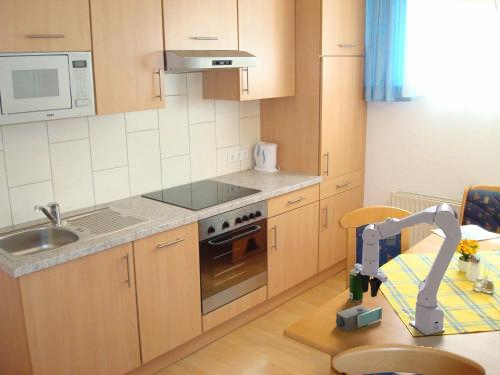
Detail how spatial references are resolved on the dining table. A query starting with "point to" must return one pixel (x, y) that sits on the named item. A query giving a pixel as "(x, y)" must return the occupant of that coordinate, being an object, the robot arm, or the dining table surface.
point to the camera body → (349, 317)
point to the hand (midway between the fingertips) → (369, 294)
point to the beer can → (355, 287)
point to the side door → (369, 317)
